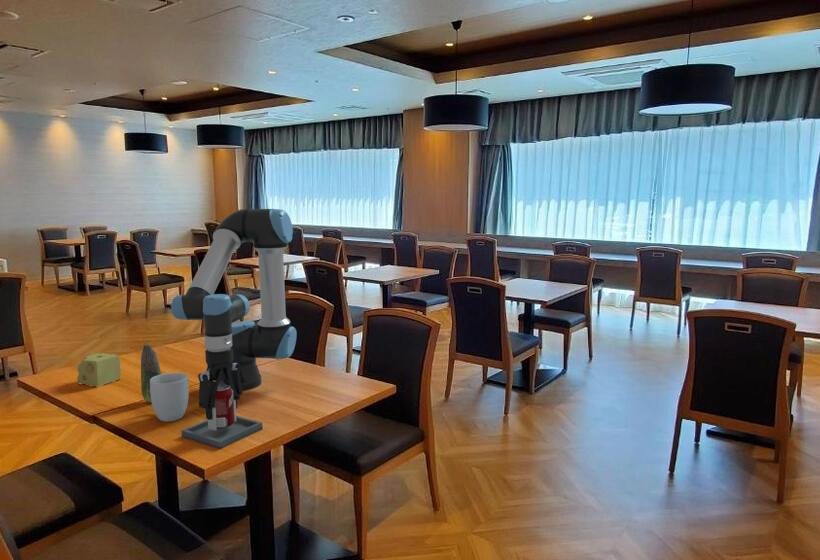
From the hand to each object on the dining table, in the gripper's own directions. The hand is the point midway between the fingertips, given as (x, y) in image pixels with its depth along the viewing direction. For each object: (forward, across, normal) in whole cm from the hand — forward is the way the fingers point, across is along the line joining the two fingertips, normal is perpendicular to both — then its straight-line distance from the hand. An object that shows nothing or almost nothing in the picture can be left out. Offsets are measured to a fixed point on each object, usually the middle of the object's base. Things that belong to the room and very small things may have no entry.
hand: (222, 424), depth 165 cm
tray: (+3, 0, 0) cm, 3 cm away
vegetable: (+3, +6, +41) cm, 42 cm away
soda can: (+1, 0, 0) cm, 1 cm away
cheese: (+3, +9, +76) cm, 77 cm away
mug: (+3, 0, +24) cm, 24 cm away
